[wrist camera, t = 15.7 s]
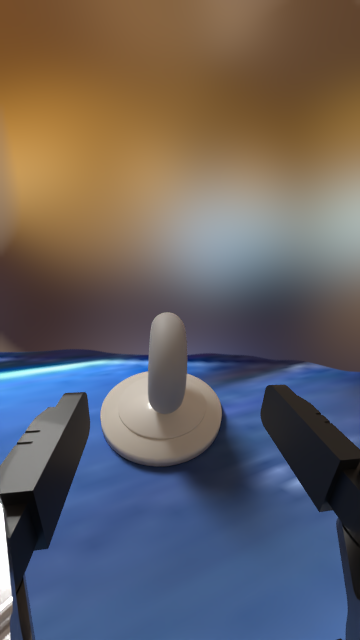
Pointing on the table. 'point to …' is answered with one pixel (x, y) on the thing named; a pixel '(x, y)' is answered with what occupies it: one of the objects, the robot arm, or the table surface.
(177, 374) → the donut
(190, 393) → the plate
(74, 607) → the table surface
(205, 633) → the table surface
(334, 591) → the table surface
